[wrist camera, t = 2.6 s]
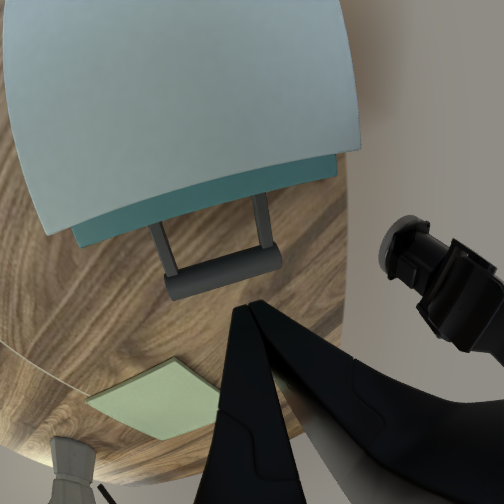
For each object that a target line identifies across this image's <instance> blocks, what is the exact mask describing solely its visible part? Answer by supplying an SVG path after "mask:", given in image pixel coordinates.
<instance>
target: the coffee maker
mask: <svg viewBox="0 0 504 504" xmlns="http://www.w3.org/2000/svg"><path fill="white" fill-rule="evenodd" d="M50 443H51V453H52V461H53V468H54V473H55V474H56V479H54V480H53V487H52V497H51V499H50V501H49V503H48V504H96V502H95V498H94V494H93V490H92V488H91V487H90V484H91V483H92V480H93V472H94V465H95V458H96V451H95V450H94V449H93V448H92V447H90V446H89V445H87V444H84V443H82V442H79V441H76V440H74V439H71V438H63V437H56V436H54V437H53V438H52V439H51V440H50ZM97 488H98V489H99V490H100V492H101V493H102V495H103V496H104V497H105V499H106V500H107V501H108V503H109V504H116V503H115V501H114V500H113V498H112V497H111V496H110V495H109V493H108V492H107V490H106V489H105V488H104V486H103V485H102V484H100V485H99V486H98V487H97Z"/></svg>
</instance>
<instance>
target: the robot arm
mask: <svg viewBox="0 0 504 504" xmlns="http://www.w3.org/2000/svg"><path fill="white" fill-rule="evenodd" d="M429 228H430V223H429V222H428V221H424V222H421V223H419V224H416V225H413V226H411V227H408V228H405V229H403V230H400V231H397V232H395V233H394V234H393V238H392V247H391V255H390V262H389V269H388V275H387V278H388V279H389V280H390V281H391V280H393V279H396V278H399V279H400V280H401V281H403V282H404V283H405V284H406V285H407V286H408V287H409V288H411V289H415V290H416V291H417V292H418V293H419V294H420V295H421V296H422V299H421V301H420V302H419V303H418V304H417V306H416V308H417V310H418V311H419V313H420V315H421V316H422V317H423V319H424V320H425V321H426V323H427V324H428V325H429V327H430V328H431V330H432V331H433V332H434V334H435V335H436V337H437V338H439V339H441V338H442V339H444V340H446V341H448V342H452V343H453V344H454V345H455V346H456V347H457V349H458V350H459V351H462V352H466V353H470V351H476V352H485V353H490V354H491V355H493V356H494V358H496V359H497V361H498V362H499V363H500V364H501V365H502V366H503V367H504V281H502V280H501V279H500V278H498V277H497V276H496V275H495V273H496V271H497V268H496V267H495V266H494V265H493V264H491V263H490V262H489V261H487V260H486V259H484V258H483V257H482V256H480V255H479V254H477V253H476V252H474V251H473V250H472V249H470V248H469V247H467V246H465V245H464V244H462V243H461V242H459V241H457V240H456V239H454V238H453V239H452V241H451V245H450V247H448V246H447V245H445V244H444V243H442V242H441V241H439V240H438V239H436V238H434V237H433V236H431V235H430V234H429ZM467 254H468V256H467ZM273 378H274V380H275V381H276V383H277V385H278V387H279V388H280V390H281V392H282V393H283V395H284V397H285V399H286V400H287V402H288V404H289V406H290V407H291V409H292V411H293V412H294V414H295V416H296V417H297V419H298V421H299V422H300V424H301V426H302V427H303V429H304V431H305V432H306V434H307V435H308V437H309V439H310V441H311V442H312V444H313V445H314V447H315V449H316V450H317V451H318V453H319V455H320V457H321V458H322V460H323V461H324V463H325V464H326V466H327V468H328V469H329V470H330V472H331V474H332V475H333V477H334V478H335V480H336V481H337V482H338V484H339V486H340V487H341V489H342V490H343V492H344V494H345V495H346V496H347V498H348V499H349V501H350V502H351V504H504V399H503V400H495V401H486V402H475V403H459V402H453V401H448V400H445V399H442V398H439V397H436V396H434V395H431V394H429V393H426V392H424V391H421V390H419V389H416V388H413V387H411V386H409V385H406V384H404V383H401V382H399V381H397V380H395V379H393V378H390V377H388V376H386V375H384V374H382V373H380V372H378V371H376V370H375V369H373V368H371V367H369V366H367V365H366V364H364V363H362V362H361V361H359V360H357V359H354V360H353V357H352V356H350V355H349V354H347V353H345V352H344V351H342V350H341V349H339V348H337V347H336V346H334V345H332V344H331V343H329V342H328V341H326V340H324V339H323V338H321V337H320V336H318V335H316V334H315V333H313V332H312V331H310V330H308V329H307V328H305V327H304V326H302V325H300V324H299V323H297V322H296V321H294V320H293V319H291V318H290V317H288V316H286V315H285V314H283V313H282V312H280V311H279V310H277V309H276V308H274V307H273V306H271V305H269V304H268V303H266V302H265V301H263V300H257V301H254V302H250V303H249V304H248V305H246V304H244V305H241V306H238V307H235V308H234V309H233V311H232V318H231V324H230V330H229V337H228V343H227V349H226V356H225V362H224V369H223V375H222V382H221V388H220V395H219V402H218V409H219V410H217V414H216V421H215V427H214V432H213V437H212V443H211V446H210V450H209V454H208V458H207V462H206V465H205V468H204V471H203V475H202V478H201V481H200V484H199V487H198V491H197V494H196V497H195V500H194V503H193V504H307V503H306V499H305V496H304V492H303V489H302V485H301V481H300V478H299V474H298V470H297V467H296V463H295V459H294V456H293V452H292V448H291V444H290V441H289V437H288V433H287V429H286V426H285V422H284V418H283V414H282V410H281V407H280V403H279V399H278V395H277V391H276V387H275V383H274V380H273Z"/></svg>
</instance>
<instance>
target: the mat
mask: <svg viewBox="0 0 504 504" xmlns="http://www.w3.org/2000/svg"><path fill="white" fill-rule="evenodd" d="M219 395H220V390H219V389H217V388H216V387H214V386H213V385H211V384H210V383H209V382H207V381H206V380H205V379H203V378H202V377H200V376H199V375H198V374H196V373H195V372H194V371H192V370H191V369H190V368H189V367H187V366H186V365H185V364H183V363H182V362H181V361H180V360H178V359H177V358H176V357H173V358H171V359H169V360H167V361H165V362H163V363H161V364H159V365H157V366H155V367H153V368H151V369H149V370H147V371H145V372H143V373H141V374H139V375H137V376H135V377H133V378H131V379H129V380H127V381H124V382H122V383H120V384H118V385H116V386H114V387H112V388H109V389H107V390H105V391H103V392H101V393H98V394H96V395H94V396H92V397H89V398H87V399H86V403H87V404H88V405H90V406H92V407H94V408H95V409H97V410H99V411H101V412H102V413H104V414H106V415H108V416H110V417H112V418H114V419H116V420H118V421H120V422H122V423H124V424H126V425H128V426H130V427H132V428H134V429H136V430H138V431H141V432H143V433H145V434H147V435H150V436H152V437H155V438H157V439H159V440H162V441H163V440H166V439H169V438H172V437H175V436H178V435H181V434H184V433H187V432H190V431H192V430H195V429H198V428H200V427H203V426H206V425H208V424H211V423H213V422H215V421H216V414H217V410H219V409H218V402H219Z"/></svg>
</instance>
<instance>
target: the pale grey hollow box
mask: <svg viewBox="0 0 504 504" xmlns="http://www.w3.org/2000/svg"><path fill="white" fill-rule="evenodd" d="M3 69H4V81H5V91H6V99H7V106H8V112H9V118H10V123H11V128H12V133H13V137H14V141H15V146H16V150H17V153H18V157H19V161H20V164H21V168H22V171H23V174H24V178H25V181H26V184H27V187H28V190H29V192H30V195H31V198H32V201H33V203H34V206H35V209H36V211H37V214H38V216H39V219H40V221H41V224H42V226H43V228H44V231H45V233H46V235H47V236H50V235H52V234H54V233H57V232H59V231H62V230H64V229H66V228H69V227H71V226H74V225H76V224H79V223H81V222H84V221H86V220H89V219H92V218H94V217H97V216H99V215H102V214H105V213H108V212H110V211H113V210H116V209H119V208H122V207H124V206H127V205H130V204H133V203H136V202H139V201H142V200H145V199H148V198H152V197H155V196H158V195H161V194H164V193H168V192H171V191H174V190H178V189H181V188H184V187H188V186H191V185H195V184H199V183H202V182H206V181H210V180H213V179H217V178H221V177H225V176H229V175H233V174H237V173H241V172H245V171H250V170H254V169H258V168H263V167H268V166H272V165H277V164H282V163H287V162H292V161H297V160H302V159H308V158H313V157H319V156H325V155H331V154H337V153H344V152H350V151H357V150H361V135H360V122H359V111H358V102H357V92H356V85H355V77H354V71H353V64H352V58H351V52H350V47H349V42H348V37H347V31H346V27H345V22H344V18H343V14H342V10H341V6H340V2H339V0H5V9H4V21H3Z"/></svg>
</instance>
